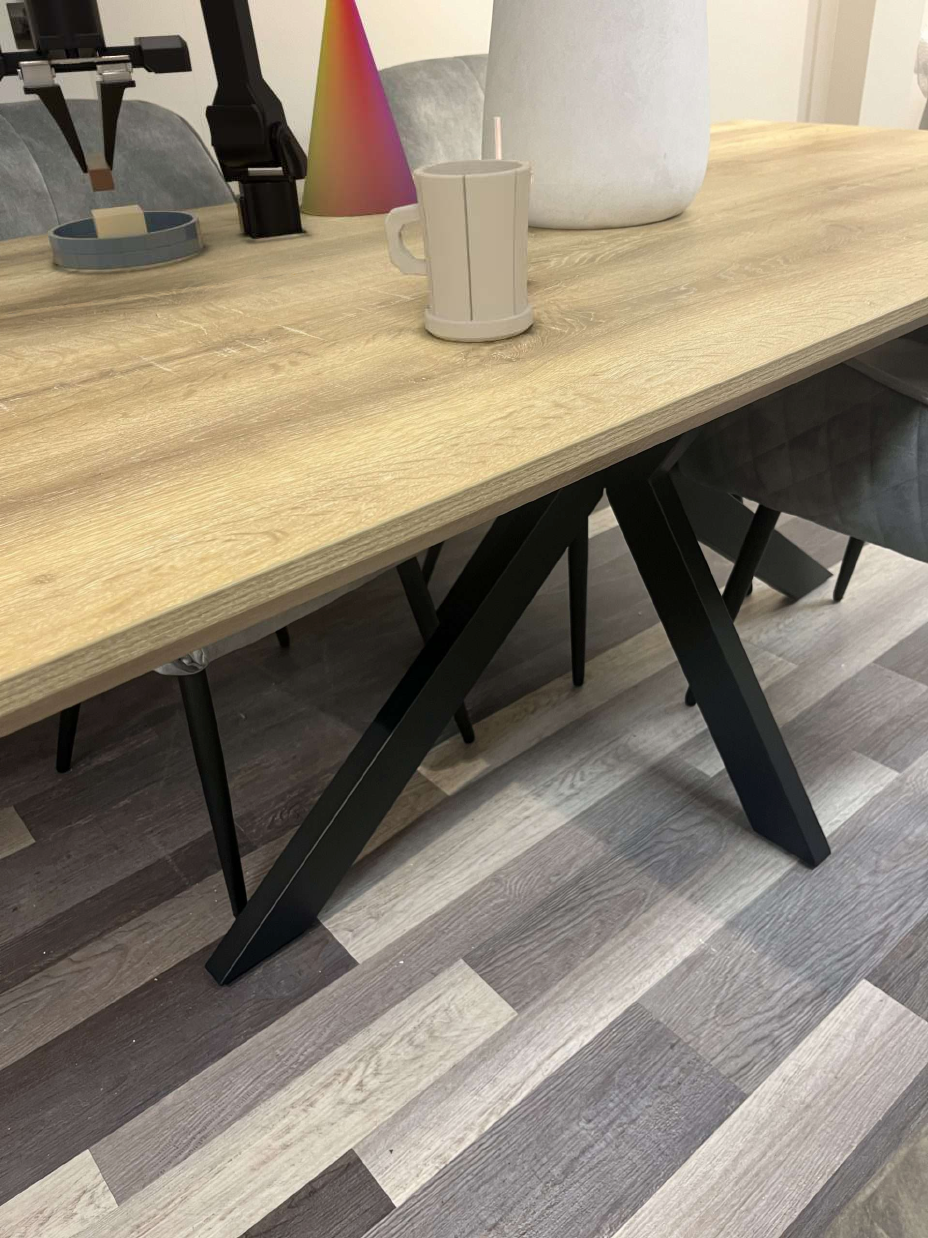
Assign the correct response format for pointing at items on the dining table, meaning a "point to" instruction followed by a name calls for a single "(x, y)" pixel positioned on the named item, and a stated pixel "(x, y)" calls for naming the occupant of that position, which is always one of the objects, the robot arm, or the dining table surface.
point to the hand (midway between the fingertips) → (97, 171)
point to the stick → (98, 172)
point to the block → (119, 221)
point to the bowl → (127, 242)
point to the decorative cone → (352, 128)
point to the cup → (469, 247)
